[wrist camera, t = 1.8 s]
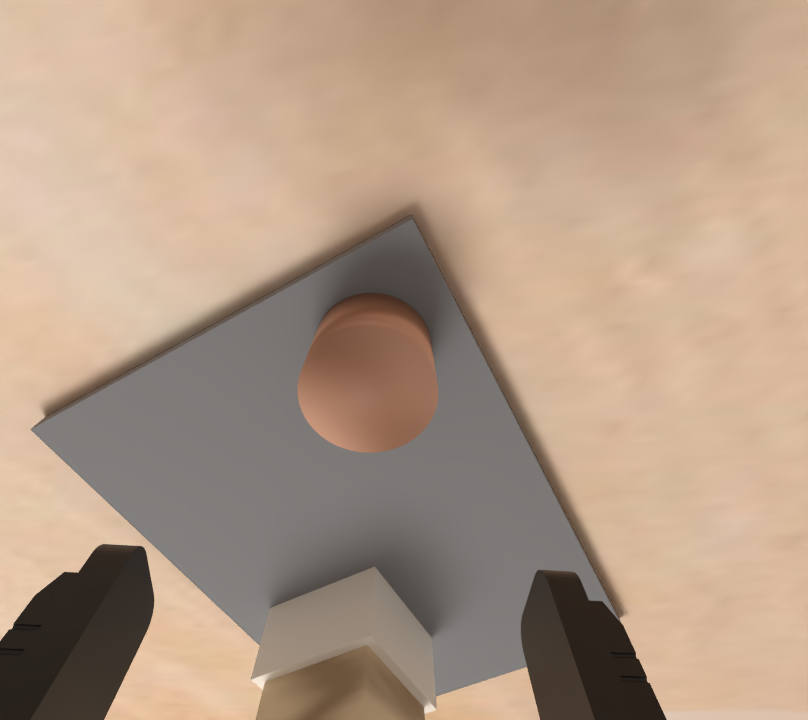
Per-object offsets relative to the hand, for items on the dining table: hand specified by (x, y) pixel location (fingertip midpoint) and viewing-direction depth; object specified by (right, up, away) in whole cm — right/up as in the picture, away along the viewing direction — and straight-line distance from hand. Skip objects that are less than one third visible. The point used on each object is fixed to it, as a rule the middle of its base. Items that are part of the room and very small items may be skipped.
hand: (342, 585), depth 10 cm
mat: (-1, -5, +17) cm, 17 cm away
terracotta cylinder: (0, +5, +11) cm, 12 cm away
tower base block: (-2, -11, +18) cm, 22 cm away
